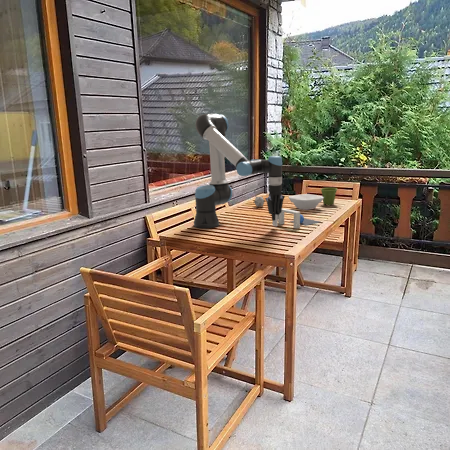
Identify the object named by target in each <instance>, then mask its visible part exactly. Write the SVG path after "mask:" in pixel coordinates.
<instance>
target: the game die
mask: <svg viewBox="0 0 450 450" xmlns="http://www.w3.org/2000/svg"><path fill="white" fill-rule="evenodd" d="M265 202H266V200H265V198H264V195H261V196H257V195H255V199H254V200H253V203H254V204H255V207H256V208H258V207H264V204H265Z"/></svg>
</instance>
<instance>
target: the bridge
mask: <svg viewBox="0 0 450 450" xmlns="http://www.w3.org/2000/svg"><path fill="white" fill-rule="evenodd" d="M285 213H286V214H291V215H293V221H294V223H293V229H300V228H301V224H300V214H301V211H297V210H293V209H288V208H283V207H282V211H281V213H280V214H279V215H278V225H284V224H285Z"/></svg>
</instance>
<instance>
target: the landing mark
mask: <svg viewBox="0 0 450 450" xmlns="http://www.w3.org/2000/svg"><path fill="white" fill-rule="evenodd" d="M289 223H293V224H294V220H291V221H289ZM318 223H321V221H319V220H315V219H309V218H306V217H304V221H303V222H302V223H300V226H302V225H303V226H311V225H314V224H318Z"/></svg>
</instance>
